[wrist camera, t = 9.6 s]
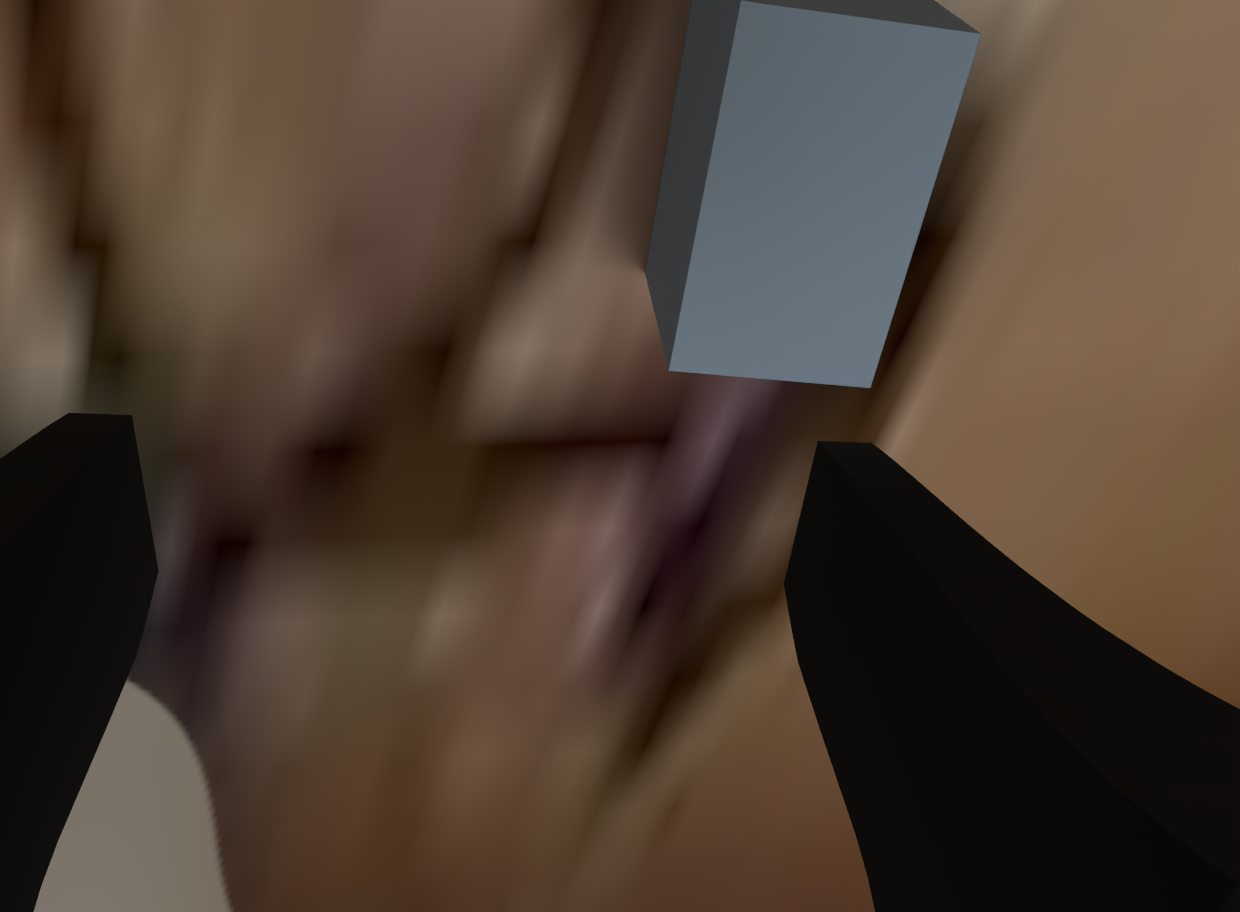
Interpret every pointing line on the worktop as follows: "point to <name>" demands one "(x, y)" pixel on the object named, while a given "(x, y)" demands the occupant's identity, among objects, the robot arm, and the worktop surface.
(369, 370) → the worktop surface
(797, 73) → the dusty-blue brick
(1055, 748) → the robot arm
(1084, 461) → the worktop surface
